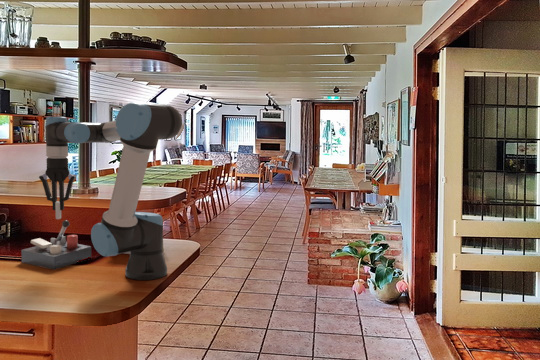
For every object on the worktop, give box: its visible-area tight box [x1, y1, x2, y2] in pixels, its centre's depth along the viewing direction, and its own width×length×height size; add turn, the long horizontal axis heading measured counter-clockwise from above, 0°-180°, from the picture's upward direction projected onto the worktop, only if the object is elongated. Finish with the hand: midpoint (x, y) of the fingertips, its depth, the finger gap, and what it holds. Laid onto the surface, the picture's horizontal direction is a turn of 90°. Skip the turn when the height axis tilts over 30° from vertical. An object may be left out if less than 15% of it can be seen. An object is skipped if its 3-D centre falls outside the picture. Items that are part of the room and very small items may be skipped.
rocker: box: [30, 237, 52, 248], centre depth 185 cm, size 7×4×1 cm, turn 65°
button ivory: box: [50, 245, 61, 254], centre depth 182 cm, size 4×4×5 cm
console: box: [20, 235, 92, 271], centre depth 187 cm, size 18×18×8 cm
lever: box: [56, 219, 70, 241], centre depth 190 cm, size 3×3×10 cm
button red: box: [66, 234, 79, 249], centre depth 188 cm, size 4×4×5 cm
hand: (58, 218), depth 181 cm, fingers closed
